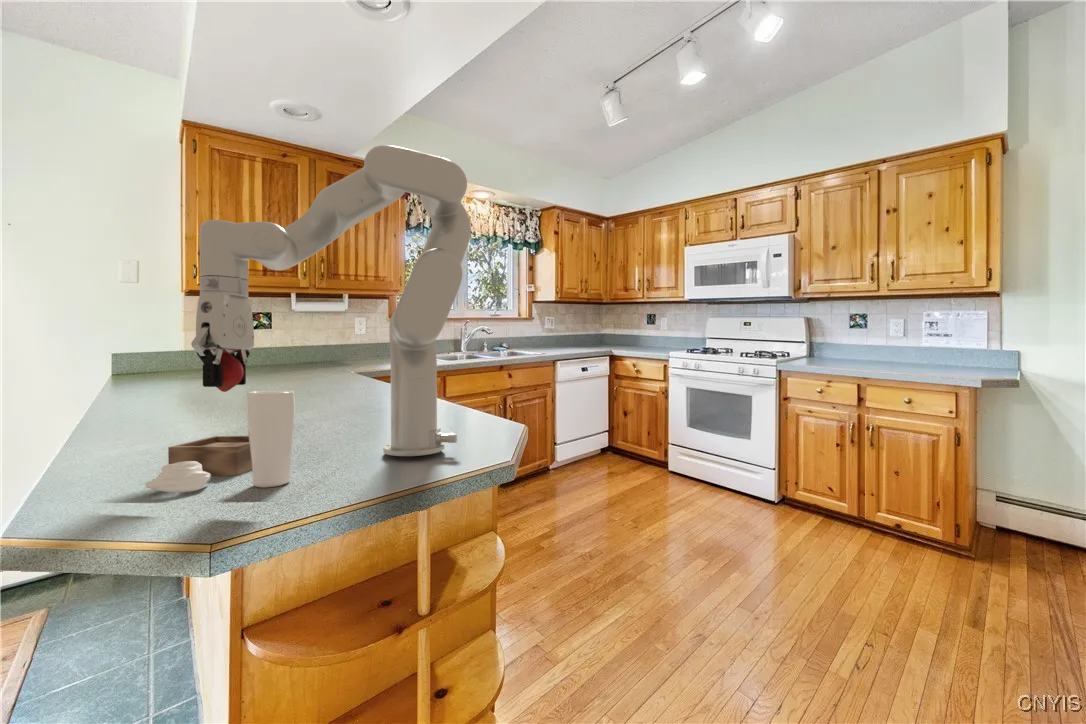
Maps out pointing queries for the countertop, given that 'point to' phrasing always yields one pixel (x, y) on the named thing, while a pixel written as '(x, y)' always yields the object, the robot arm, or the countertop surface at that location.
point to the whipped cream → (180, 478)
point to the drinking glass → (271, 436)
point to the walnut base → (215, 454)
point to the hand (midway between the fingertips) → (225, 384)
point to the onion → (230, 371)
